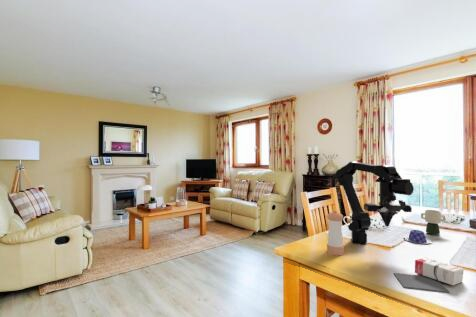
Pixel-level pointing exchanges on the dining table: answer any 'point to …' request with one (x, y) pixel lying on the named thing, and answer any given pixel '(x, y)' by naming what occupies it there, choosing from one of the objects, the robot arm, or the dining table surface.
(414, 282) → the mat
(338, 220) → the pepper shaker
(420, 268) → the ink box
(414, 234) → the blue low rounded piece
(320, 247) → the dining table surface
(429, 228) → the character mug
